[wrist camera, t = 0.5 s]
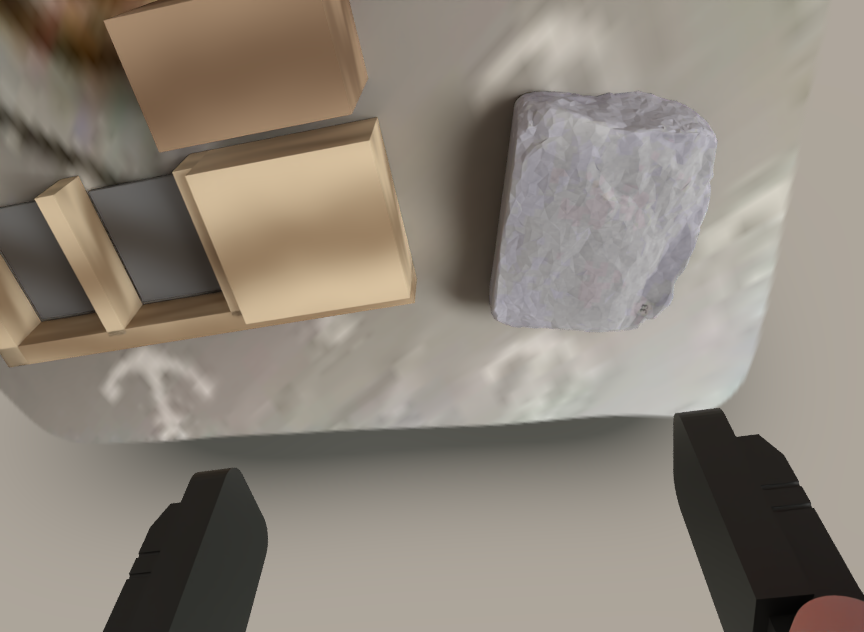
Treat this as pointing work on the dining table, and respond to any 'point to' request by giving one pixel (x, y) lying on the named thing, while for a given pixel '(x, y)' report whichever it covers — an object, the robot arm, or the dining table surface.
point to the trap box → (207, 247)
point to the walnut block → (238, 65)
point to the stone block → (598, 209)
